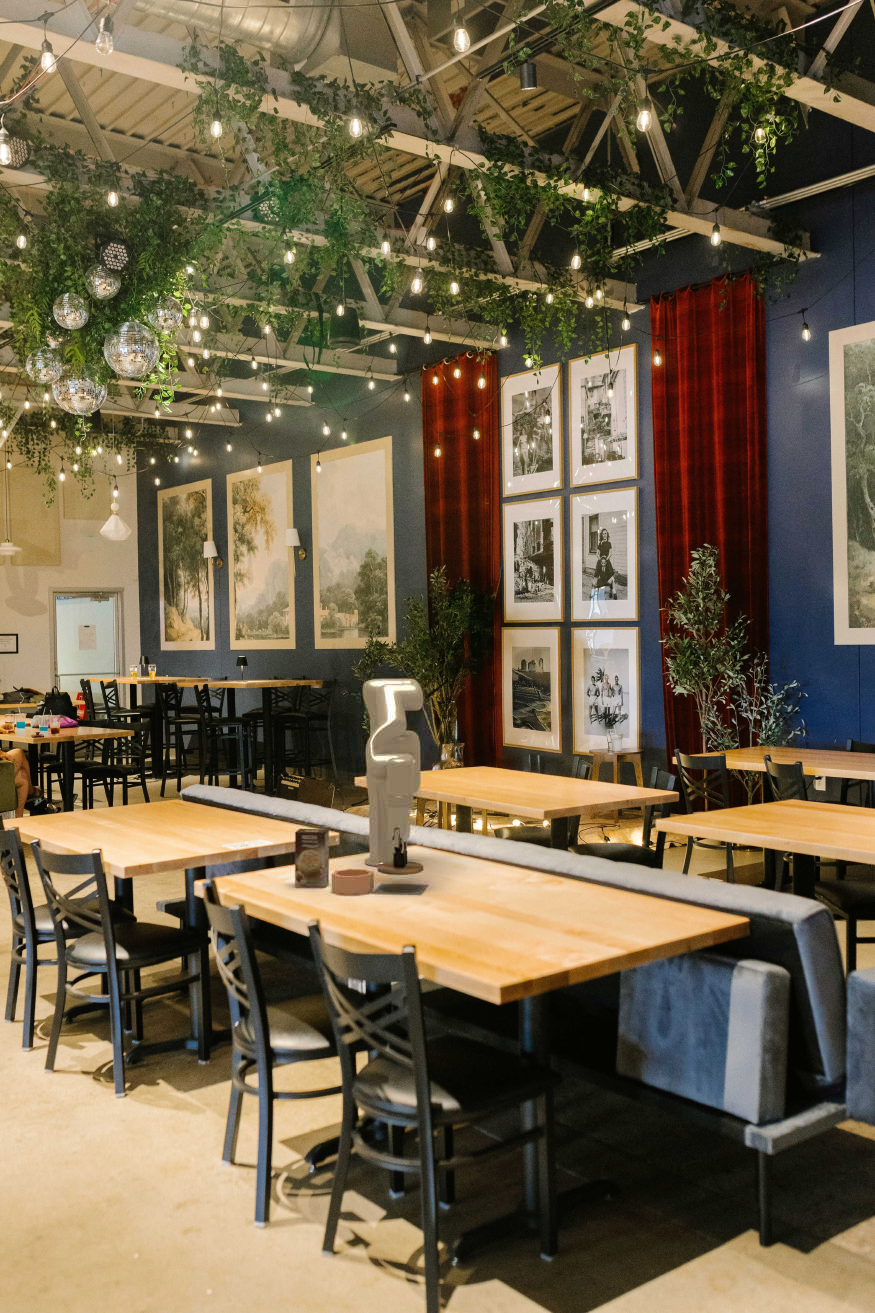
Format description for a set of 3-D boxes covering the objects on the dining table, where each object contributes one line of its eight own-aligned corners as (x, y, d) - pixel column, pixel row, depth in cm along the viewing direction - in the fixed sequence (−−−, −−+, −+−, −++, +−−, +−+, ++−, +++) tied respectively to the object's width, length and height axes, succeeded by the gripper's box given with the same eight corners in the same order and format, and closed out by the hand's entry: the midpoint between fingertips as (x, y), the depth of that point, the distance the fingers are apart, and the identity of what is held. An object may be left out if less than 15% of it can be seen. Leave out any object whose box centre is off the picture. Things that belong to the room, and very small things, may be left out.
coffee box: (294, 887, 306) (293, 832, 306) (299, 883, 312) (298, 828, 312) (325, 888, 305) (324, 832, 305) (329, 883, 311) (329, 828, 311)
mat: (381, 885, 308) (381, 883, 308) (429, 886, 306) (429, 884, 306) (371, 895, 295) (371, 894, 295) (421, 896, 292) (421, 895, 292)
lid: (382, 864, 309) (382, 843, 309) (426, 865, 307) (426, 844, 307) (373, 874, 296) (373, 853, 296) (419, 875, 294) (419, 854, 294)
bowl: (338, 888, 305) (338, 868, 305) (376, 888, 303) (376, 869, 303) (328, 896, 294) (328, 876, 294) (367, 897, 292) (367, 877, 292)
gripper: (392, 796, 309) (392, 859, 310) (381, 805, 293) (381, 872, 294) (418, 797, 308) (418, 860, 309) (407, 806, 292) (408, 872, 293)
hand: (400, 865), depth 301 cm, fingers closed on lid, 2 cm apart
